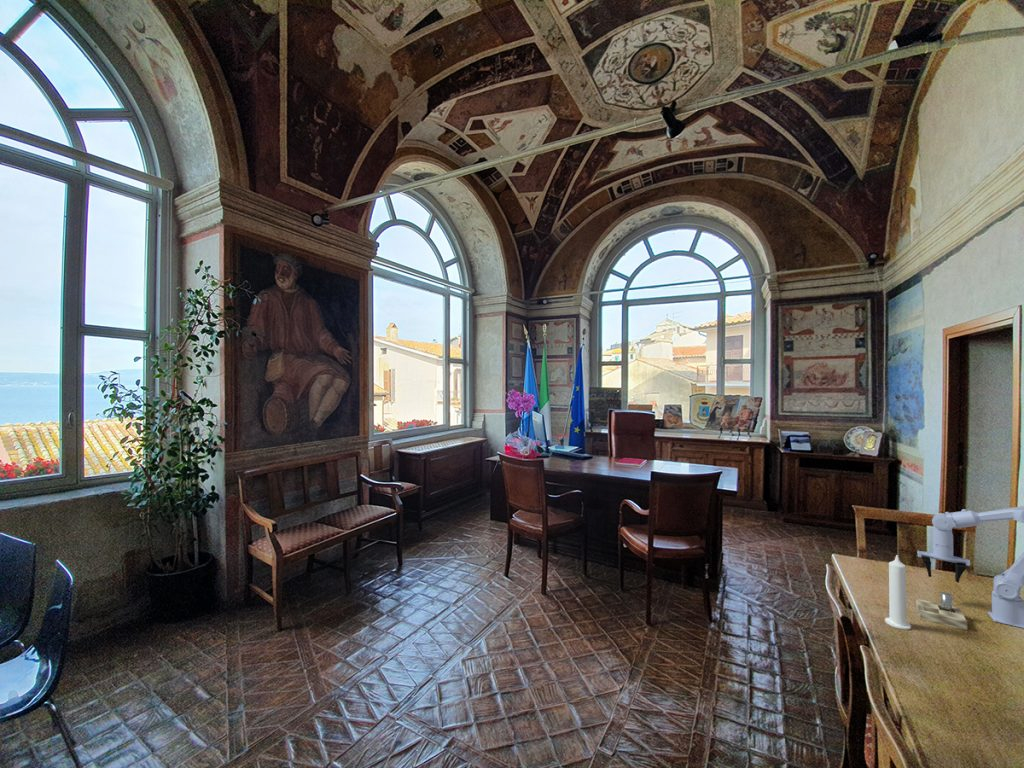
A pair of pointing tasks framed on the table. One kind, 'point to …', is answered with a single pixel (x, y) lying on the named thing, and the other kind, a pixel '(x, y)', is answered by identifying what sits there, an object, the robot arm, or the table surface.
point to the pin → (946, 601)
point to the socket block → (940, 614)
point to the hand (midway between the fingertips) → (943, 578)
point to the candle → (897, 595)
